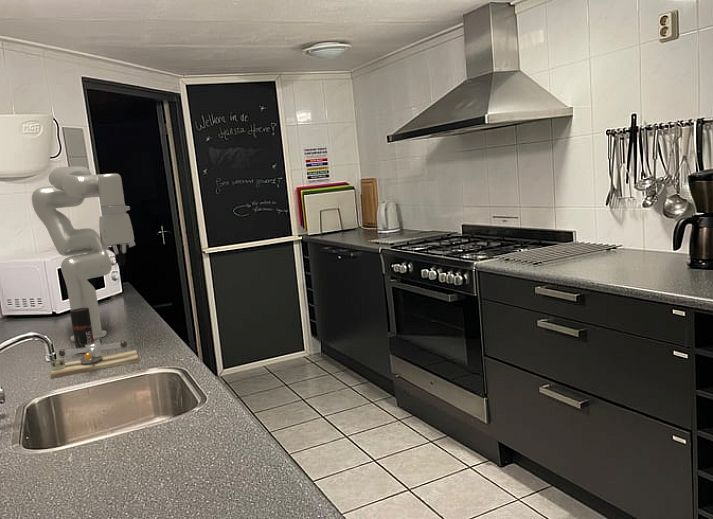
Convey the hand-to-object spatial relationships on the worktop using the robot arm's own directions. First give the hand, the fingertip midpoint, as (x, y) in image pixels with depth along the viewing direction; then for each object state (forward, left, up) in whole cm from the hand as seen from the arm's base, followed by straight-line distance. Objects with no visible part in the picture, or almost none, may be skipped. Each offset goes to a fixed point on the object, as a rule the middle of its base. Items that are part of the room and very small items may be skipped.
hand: (121, 264), depth 203 cm
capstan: (+14, -12, -28) cm, 33 cm away
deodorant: (-6, -15, -29) cm, 33 cm away
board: (+14, -12, -29) cm, 34 cm away
